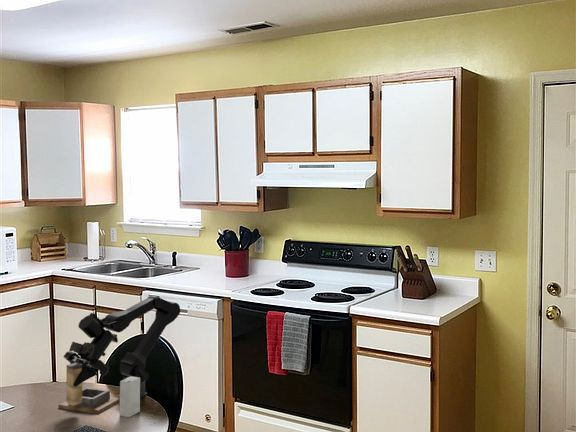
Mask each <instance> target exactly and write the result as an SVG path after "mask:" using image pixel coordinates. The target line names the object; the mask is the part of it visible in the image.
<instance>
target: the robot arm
mask: <svg viewBox="0 0 576 432" xmlns="http://www.w3.org/2000/svg"><path fill="white" fill-rule="evenodd" d="M152 310H155V316H154V317H155V318H154V320H153V322H152V324H151V325H150V326H149V328H148V330H146V333H145V334H144V336H143V337H142V339H141V340H140V342H139V344H138V345H137V347H136V348H135V350H134V351H133V352H126V353H125V354H124V356H123V358H122V359H121V360H120V364H119V372H120V374H121V375H122V378H123V379H126V378H128V377H130V376H131V377H139V378H140V399H141V398H143V397H144V396H146V395H148V392H146V381H148V380H149V377H150V374H149V373H148V372H147V371H146V370H145V368H146V363H147V357H148V355H149V354H150V353H151V351H152V349H153V348H154V346H155V345H156V343H157V341H158V340H159V339H160V337H161V335H162V334H163V332H164V330H165V328H166V327H167V326H169V325H170V324H172V323H173V322H174V321H176V320H177V318H178V317H179V316H180V314H181V306H180V304H179V303H177V302H174V301H168V300H167V299H166V300H165V299H163V298H161V297H160V296H158V295H157V296H156V295H149V296H147V297H146V298H145V299H143V300H140V301H138V303H136V304H134V305H132V306H130V307H128V308H126V309H125V310H119V311H114V312H112V313H111V312H110V313H107V315H106V316H105V317H103V318H101V319H100V318H99V317H98V315H97V314H96V313H94V312H91V313H89V314H88V315H86V316H84V317H83V318H81V320H80V321H79V323H78V326H77V327H78V328H79V330H81V331H82V333H84V334H85V335H86V336H87V337H88V338H90V339H91V340H90V342H86V341H85V342H84V343H79V342H76V341H72V342H71V345H70V346H69V350H68V351H66V352H65V354H64V355H63V358H64V359H66V361H67V362H68V363H69V364H73V363H78V364H81V365H82V371H81V372H80V374H79V375H78V377H77V379H76V380H75V382H74V384H73V385H74V386H75V387H76V386H78V385H79V384H81V383H82V384H83V383H84V382H86V381H87V380H89V379H92V378H93V377H95V376H98V372H99V375H102V376H104V377H106V376H107V374H108V373H109V369H110V368H109V366H108V365H107V364H106V363H105V362H103V360H101V357H105V356H106V354H107V353H105V351H106V350H107V349H108V347H109V346H110V344H111V343H119V339H118V334H115V333H122V332H123V331H124V330H126V329H127V328H128V327H129V326H130V325H131V323H132V322H133V321H135V320H136V319H138V318H140V317H142V316H143V315H146V314H147V313H149V312H151V311H152ZM111 331H112V332H111ZM113 332H115V333H113ZM66 384H67V380H66Z"/></svg>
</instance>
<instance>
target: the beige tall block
mask: <svg viewBox="0 0 576 432" xmlns="http://www.w3.org/2000/svg"><path fill="white" fill-rule="evenodd" d="M81 371H82V365H81V364H78V363H73V364H70V363H69V364H66V381H67V383H66V401H67V404H70V405H77V404H80V403H82V389H83V382H82V383H81V384H79V385H78V386H76V387H75V386H74V385H73V384H74V382H75V380H76V379H77V377H78V375H79V374H80V372H81Z"/></svg>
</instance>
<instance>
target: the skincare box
mask: <svg viewBox="0 0 576 432" xmlns="http://www.w3.org/2000/svg"><path fill="white" fill-rule="evenodd" d="M119 398H120V402H119V416H120V417H126V418H131V417H133V416H134V415H136V414H137V413H139V412H140V411H141V398H140V378H139V377H131V376H130V377H128V378H126V379H125V378H123V379H122V380H120V382H119Z"/></svg>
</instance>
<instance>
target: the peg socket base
mask: <svg viewBox="0 0 576 432" xmlns="http://www.w3.org/2000/svg"><path fill="white" fill-rule="evenodd" d="M118 403H120V397H119V398H118V397H114V396H113V397H111V390H110V389H102V388H94V387H84V388H83V387H82V403H80V404H77V405H70V404H67V400H65V401H63V402H61V403H59V404H58V409H62V410H70V411H74V412H75V411H77V412H83V413H91V414H98V415H100V414H101V413H102V412H104V411H106V410H108V409H109V408H112V407H113V406H114V405H116V404H118Z"/></svg>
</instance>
